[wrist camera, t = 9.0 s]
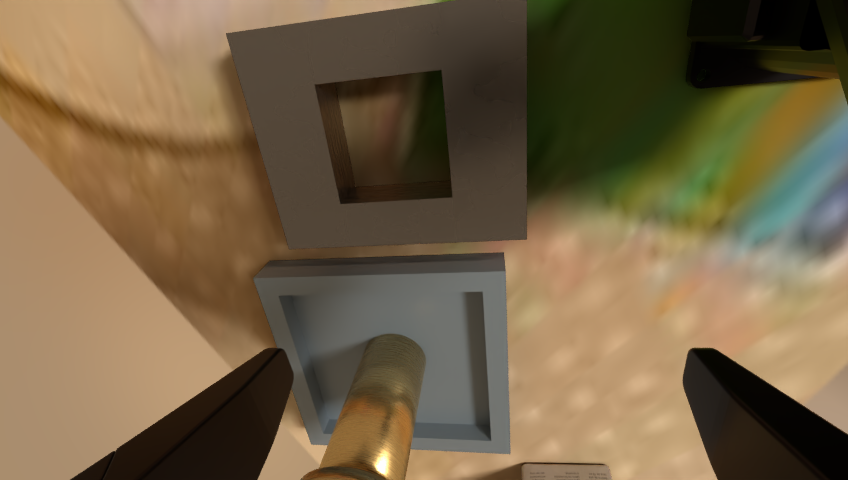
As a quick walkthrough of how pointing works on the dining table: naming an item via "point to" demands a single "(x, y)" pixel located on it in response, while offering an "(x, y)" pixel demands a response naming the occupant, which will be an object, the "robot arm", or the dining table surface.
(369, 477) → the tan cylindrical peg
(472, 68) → the block
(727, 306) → the dining table surface
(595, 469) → the coffee box
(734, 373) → the robot arm
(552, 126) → the dining table surface
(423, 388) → the tray
